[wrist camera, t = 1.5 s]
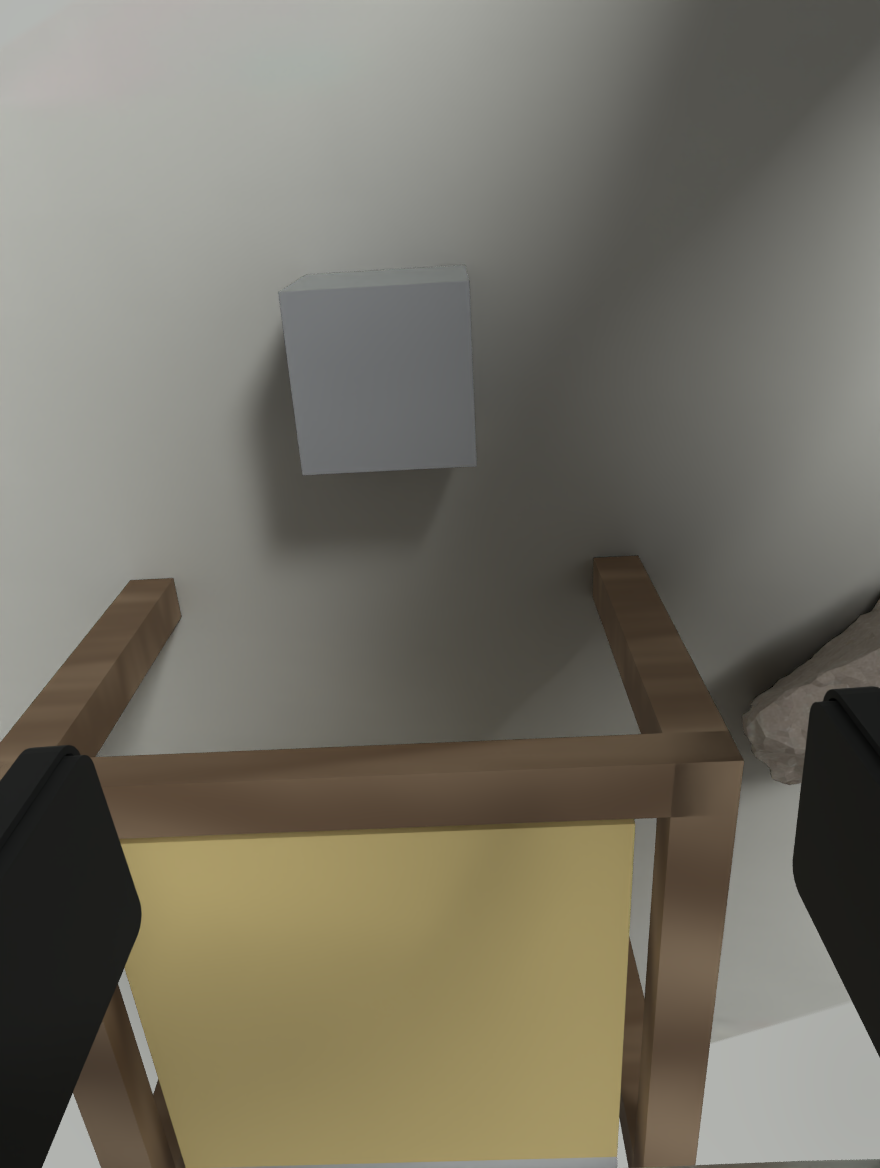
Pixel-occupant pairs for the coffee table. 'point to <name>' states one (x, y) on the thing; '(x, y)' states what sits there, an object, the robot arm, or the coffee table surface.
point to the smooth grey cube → (381, 369)
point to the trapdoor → (388, 993)
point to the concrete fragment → (811, 696)
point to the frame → (428, 799)
